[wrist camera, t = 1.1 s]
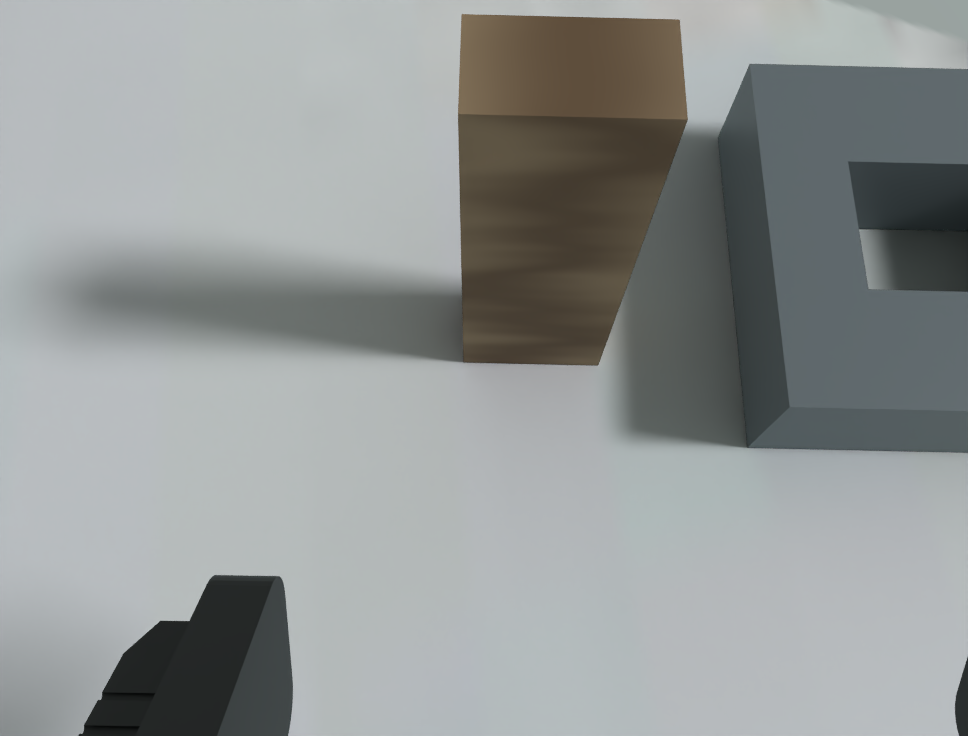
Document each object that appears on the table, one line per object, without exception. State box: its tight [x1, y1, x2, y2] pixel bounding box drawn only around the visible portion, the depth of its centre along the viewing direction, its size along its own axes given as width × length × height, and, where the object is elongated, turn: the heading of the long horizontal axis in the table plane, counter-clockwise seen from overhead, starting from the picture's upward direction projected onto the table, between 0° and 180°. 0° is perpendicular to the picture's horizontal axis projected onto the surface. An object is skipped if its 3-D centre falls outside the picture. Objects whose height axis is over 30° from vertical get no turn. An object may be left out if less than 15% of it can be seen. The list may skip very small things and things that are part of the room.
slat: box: [458, 14, 688, 365], centre depth 24 cm, size 4×2×13 cm, turn 89°
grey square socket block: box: [718, 64, 968, 452], centre depth 29 cm, size 12×12×4 cm
